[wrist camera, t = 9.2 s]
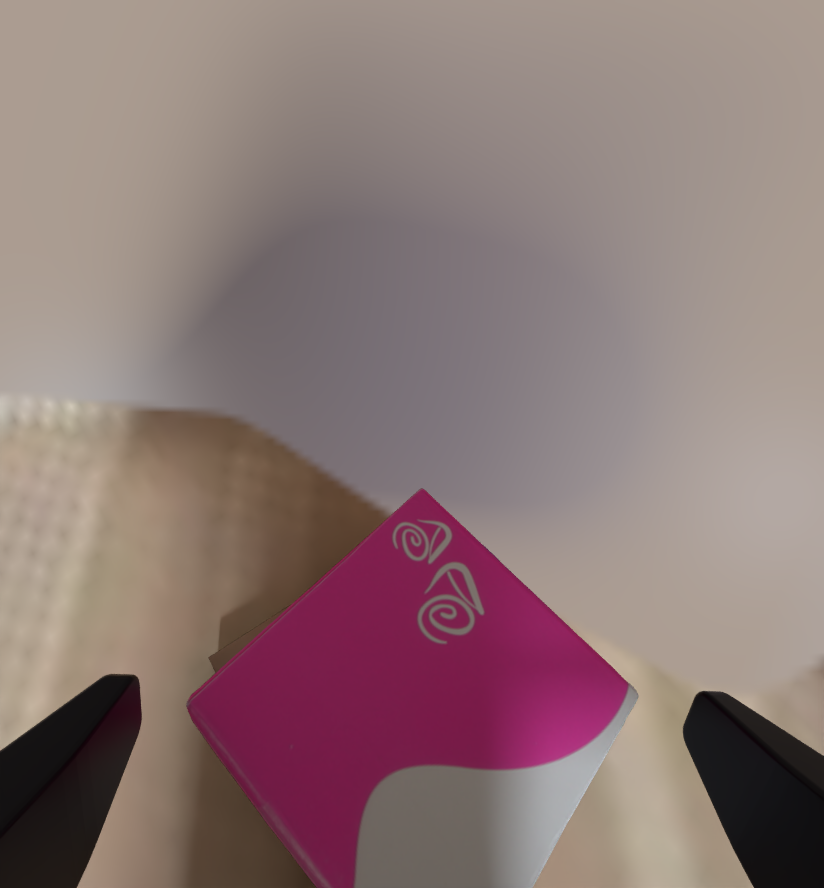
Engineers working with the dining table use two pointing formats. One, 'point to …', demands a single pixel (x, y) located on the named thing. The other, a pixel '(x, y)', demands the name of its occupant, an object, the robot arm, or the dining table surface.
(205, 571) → the dining table surface
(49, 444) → the dining table surface
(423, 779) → the supplement box
